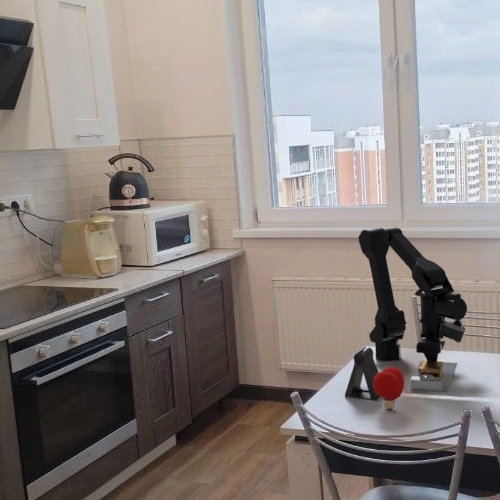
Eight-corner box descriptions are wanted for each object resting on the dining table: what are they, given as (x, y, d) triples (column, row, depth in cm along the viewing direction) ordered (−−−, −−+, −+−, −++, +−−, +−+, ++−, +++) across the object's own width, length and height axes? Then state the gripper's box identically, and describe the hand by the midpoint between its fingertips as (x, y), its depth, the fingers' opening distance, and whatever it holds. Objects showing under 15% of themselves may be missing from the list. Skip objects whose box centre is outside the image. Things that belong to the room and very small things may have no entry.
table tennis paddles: (386, 401, 188) (384, 362, 187) (411, 406, 184) (410, 366, 182) (367, 413, 181) (365, 373, 180) (393, 418, 177) (391, 377, 175)
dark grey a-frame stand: (386, 393, 194) (384, 348, 192) (377, 401, 189) (375, 355, 187) (353, 389, 199) (351, 345, 197) (344, 396, 193) (342, 351, 192)
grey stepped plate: (405, 392, 193) (405, 377, 193) (420, 363, 216) (419, 350, 216) (447, 395, 190) (446, 380, 189) (457, 365, 212) (457, 351, 212)
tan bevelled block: (418, 383, 197) (418, 368, 197) (422, 374, 204) (422, 360, 203) (440, 384, 195) (440, 369, 195) (443, 376, 202) (443, 361, 201)
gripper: (459, 323, 190) (460, 382, 193) (465, 305, 208) (467, 360, 210) (414, 322, 194) (417, 379, 197) (424, 305, 212) (426, 358, 214)
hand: (433, 369), depth 204 cm, fingers closed
